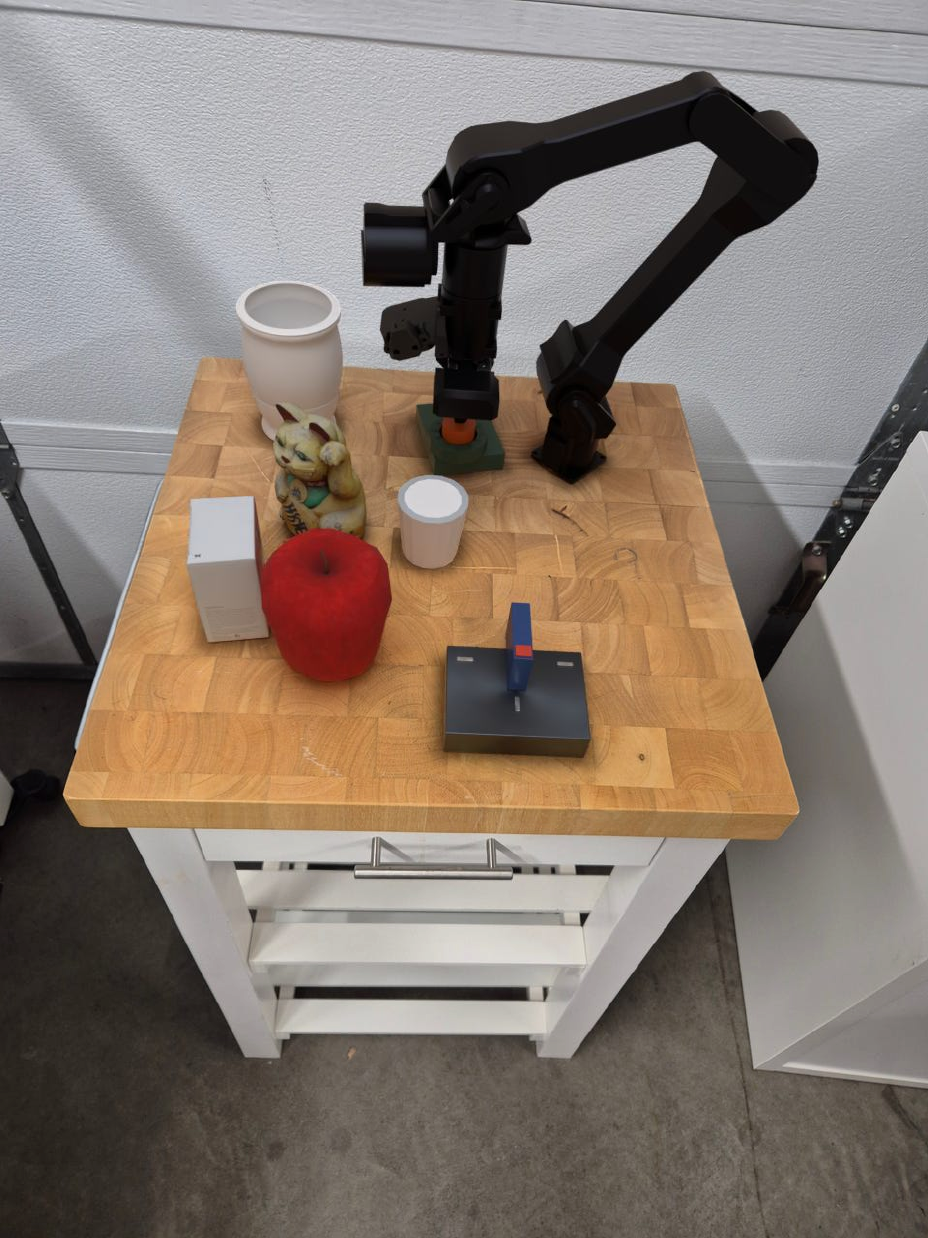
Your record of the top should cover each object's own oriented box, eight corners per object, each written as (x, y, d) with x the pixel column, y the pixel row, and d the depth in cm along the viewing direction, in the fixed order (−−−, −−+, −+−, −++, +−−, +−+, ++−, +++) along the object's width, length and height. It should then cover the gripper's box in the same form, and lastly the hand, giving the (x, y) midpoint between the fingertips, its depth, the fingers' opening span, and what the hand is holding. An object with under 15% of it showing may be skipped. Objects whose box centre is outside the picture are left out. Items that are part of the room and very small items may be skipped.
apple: (272, 708, 70) (254, 606, 59) (271, 616, 76) (254, 509, 66) (395, 697, 71) (398, 596, 61) (384, 608, 78) (385, 502, 67)
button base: (413, 420, 96) (414, 392, 93) (480, 414, 98) (483, 386, 95) (433, 482, 90) (435, 454, 86) (505, 475, 91) (509, 447, 88)
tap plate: (571, 640, 77) (578, 619, 75) (584, 757, 69) (591, 738, 67) (445, 634, 76) (447, 612, 74) (443, 751, 68) (445, 732, 66)
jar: (363, 421, 95) (361, 302, 84) (306, 468, 89) (296, 346, 78) (292, 387, 98) (281, 268, 87) (233, 429, 92) (212, 307, 81)
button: (438, 426, 90) (439, 413, 89) (469, 423, 91) (471, 410, 90) (445, 447, 88) (446, 434, 87) (477, 444, 89) (479, 431, 87)
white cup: (455, 579, 81) (461, 529, 75) (388, 565, 81) (389, 514, 76) (469, 532, 85) (475, 481, 80) (405, 519, 86) (407, 467, 80)
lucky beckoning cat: (264, 530, 83) (245, 407, 71) (316, 487, 88) (306, 365, 76) (339, 572, 80) (332, 451, 69) (389, 525, 85) (390, 405, 73)
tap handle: (505, 634, 73) (511, 600, 69) (522, 635, 73) (530, 601, 69) (507, 689, 69) (514, 656, 66) (525, 690, 69) (533, 657, 66)
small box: (269, 639, 74) (256, 560, 66) (206, 644, 73) (184, 564, 65) (268, 574, 79) (255, 493, 71) (208, 578, 78) (189, 496, 70)
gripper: (391, 229, 81) (390, 366, 93) (378, 333, 70) (379, 473, 82) (502, 238, 82) (486, 372, 94) (508, 342, 70) (489, 480, 82)
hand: (459, 421), depth 88 cm, fingers closed
